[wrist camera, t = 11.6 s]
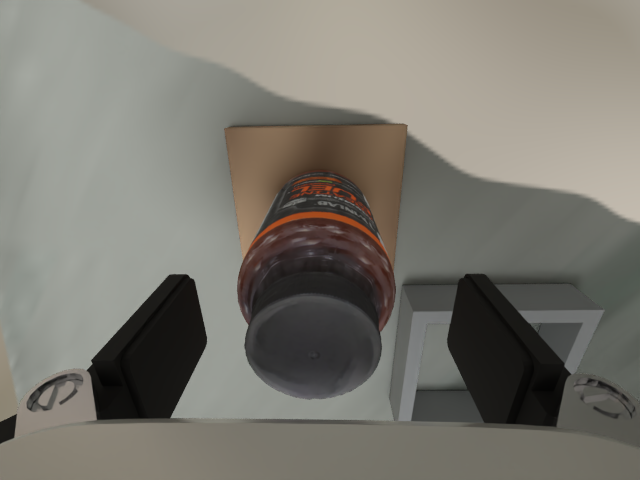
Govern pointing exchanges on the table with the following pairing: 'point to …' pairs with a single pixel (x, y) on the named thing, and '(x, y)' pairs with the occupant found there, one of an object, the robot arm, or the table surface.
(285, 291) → the supplement bottle
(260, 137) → the tan mat
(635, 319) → the table surface
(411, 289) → the parts bin
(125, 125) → the table surface
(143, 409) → the robot arm
